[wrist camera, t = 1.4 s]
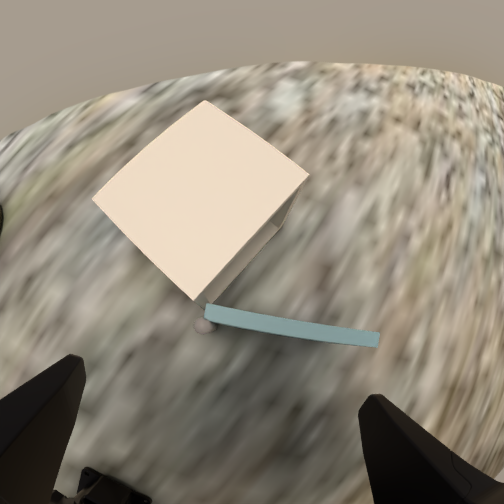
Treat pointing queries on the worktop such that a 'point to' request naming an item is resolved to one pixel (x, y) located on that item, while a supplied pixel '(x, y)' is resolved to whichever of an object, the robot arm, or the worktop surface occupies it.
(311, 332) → the flap
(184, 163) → the carton
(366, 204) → the worktop surface
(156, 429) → the worktop surface
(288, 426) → the worktop surface
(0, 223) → the supplement bottle
